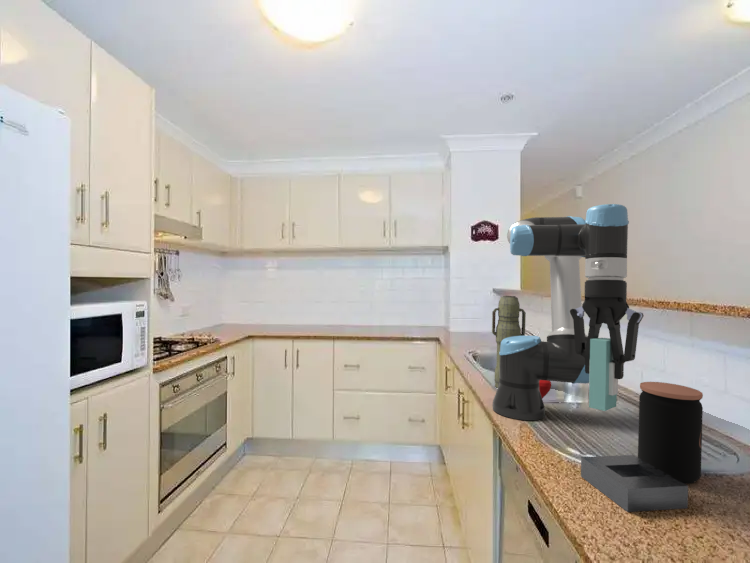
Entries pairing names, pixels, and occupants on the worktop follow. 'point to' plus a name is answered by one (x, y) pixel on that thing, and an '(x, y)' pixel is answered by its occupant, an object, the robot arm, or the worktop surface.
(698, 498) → the worktop surface
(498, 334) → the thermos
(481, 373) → the worktop surface
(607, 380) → the keyed peg
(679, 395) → the coffee jar
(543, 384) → the strawberry
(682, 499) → the block
